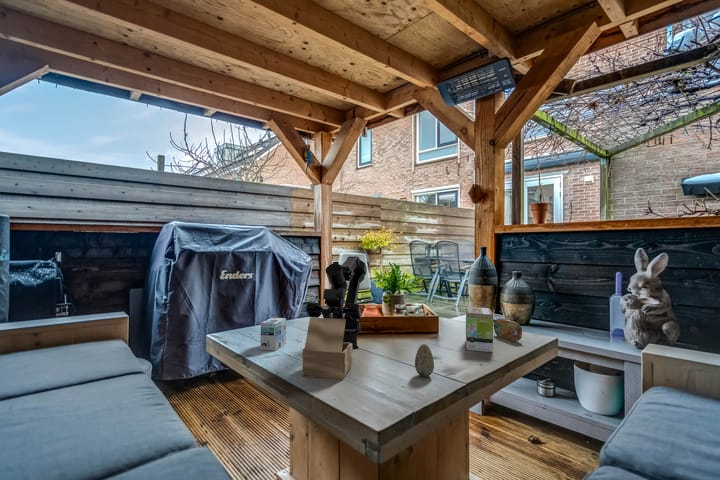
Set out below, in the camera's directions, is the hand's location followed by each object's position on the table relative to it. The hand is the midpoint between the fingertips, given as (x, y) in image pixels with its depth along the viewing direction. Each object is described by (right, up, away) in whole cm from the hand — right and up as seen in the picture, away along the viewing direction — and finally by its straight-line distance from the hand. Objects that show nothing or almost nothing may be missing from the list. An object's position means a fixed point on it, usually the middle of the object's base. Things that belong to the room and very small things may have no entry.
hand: (328, 332), depth 113 cm
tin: (+75, -13, +38) cm, 85 cm away
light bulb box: (-25, -13, +27) cm, 39 cm away
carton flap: (-1, 0, -3) cm, 3 cm away
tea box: (+59, -13, +28) cm, 66 cm away
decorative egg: (+31, -13, -5) cm, 33 cm away
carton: (0, -13, -1) cm, 13 cm away
